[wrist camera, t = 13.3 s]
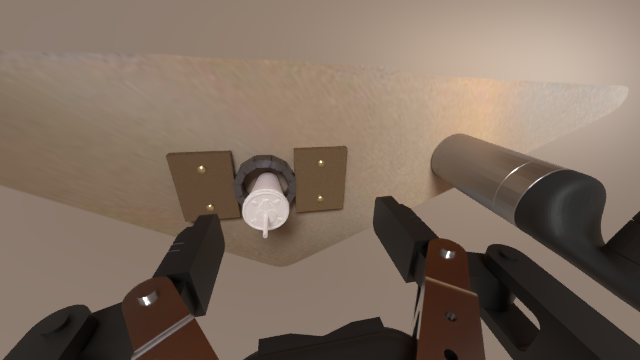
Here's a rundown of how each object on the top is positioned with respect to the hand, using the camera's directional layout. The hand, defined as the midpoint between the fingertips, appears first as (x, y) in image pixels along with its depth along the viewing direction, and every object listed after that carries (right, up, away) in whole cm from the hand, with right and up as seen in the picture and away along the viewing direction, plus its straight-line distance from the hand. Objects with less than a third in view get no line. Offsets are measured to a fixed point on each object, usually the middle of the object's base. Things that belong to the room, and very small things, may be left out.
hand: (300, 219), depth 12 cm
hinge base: (-8, +2, +28) cm, 29 cm away
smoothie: (-8, +2, +28) cm, 29 cm away
